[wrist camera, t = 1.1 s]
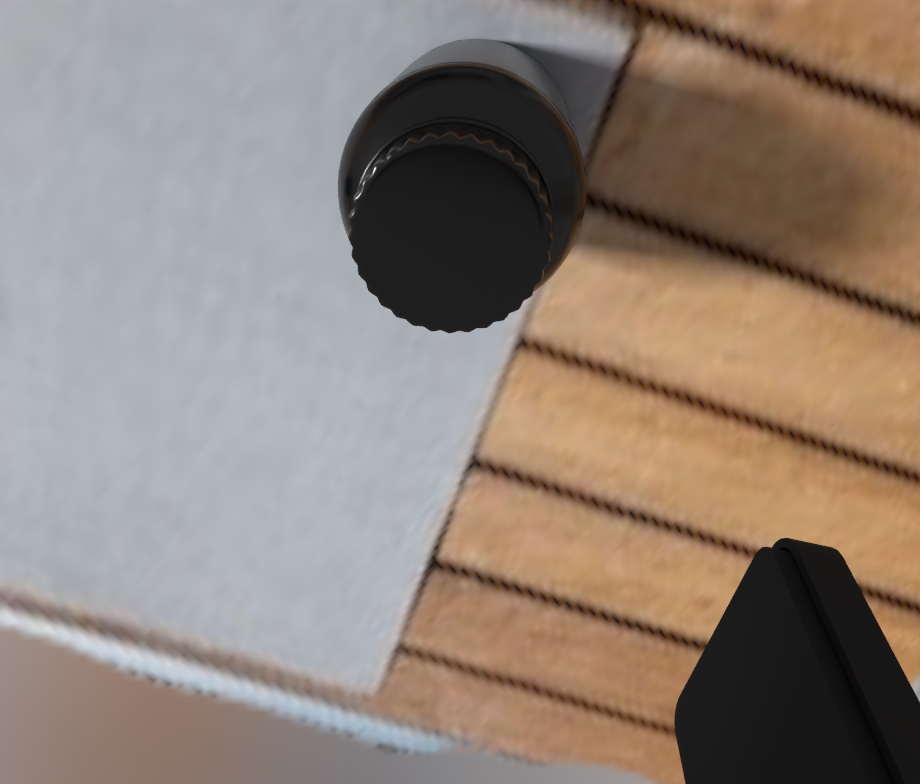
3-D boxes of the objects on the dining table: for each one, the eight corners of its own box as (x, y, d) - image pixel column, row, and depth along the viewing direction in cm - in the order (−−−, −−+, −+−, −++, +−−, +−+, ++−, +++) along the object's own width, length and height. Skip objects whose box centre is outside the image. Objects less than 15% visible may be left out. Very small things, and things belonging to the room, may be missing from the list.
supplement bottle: (578, 216, 30) (604, 364, 19) (402, 237, 30) (337, 388, 20) (564, 18, 26) (587, 66, 16) (367, 48, 27) (267, 112, 17)
